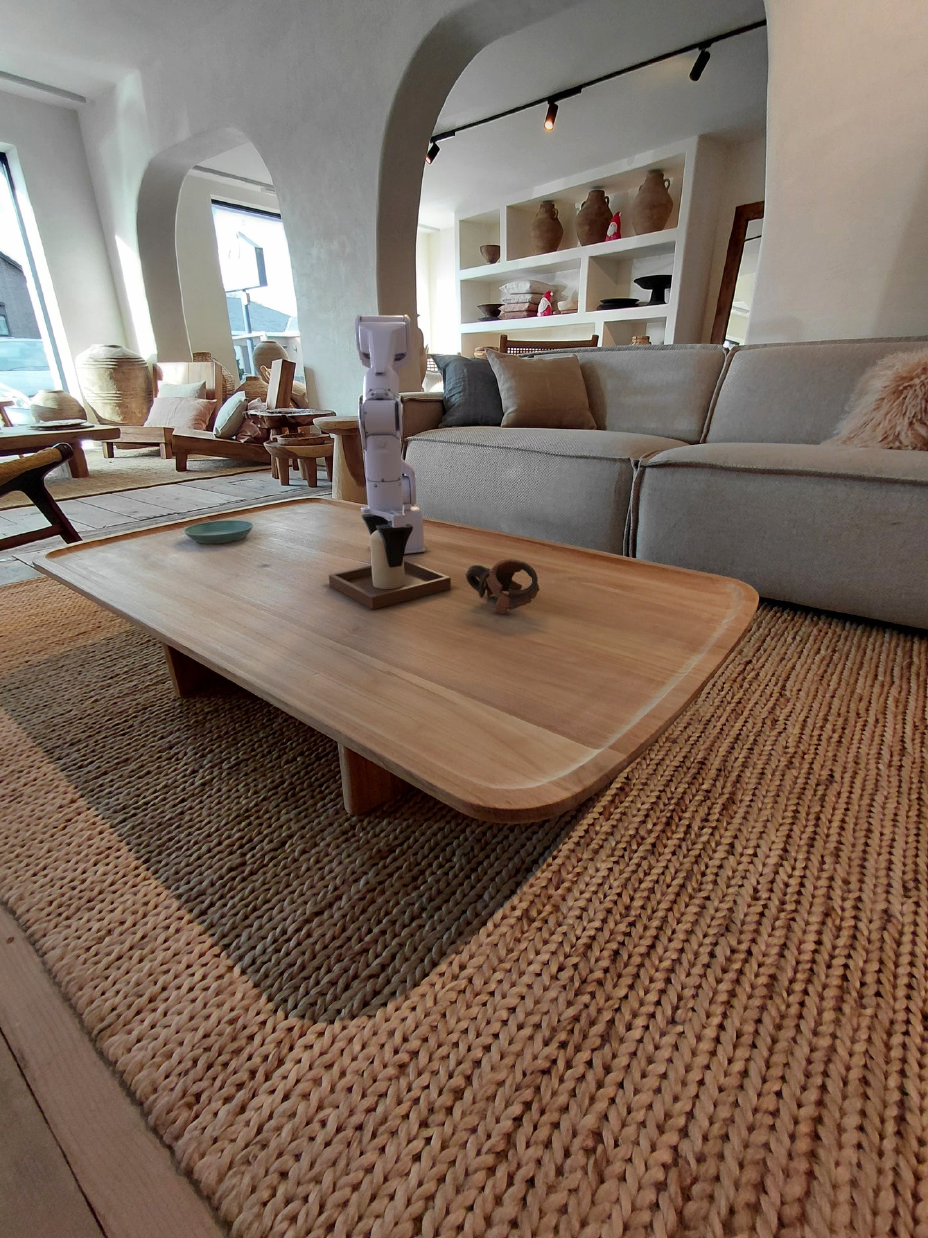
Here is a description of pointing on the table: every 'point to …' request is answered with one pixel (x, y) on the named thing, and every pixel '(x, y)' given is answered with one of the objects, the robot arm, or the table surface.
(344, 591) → the tray
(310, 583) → the table surface
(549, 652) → the table surface
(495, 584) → the leather belt
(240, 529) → the saucer
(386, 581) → the candle
